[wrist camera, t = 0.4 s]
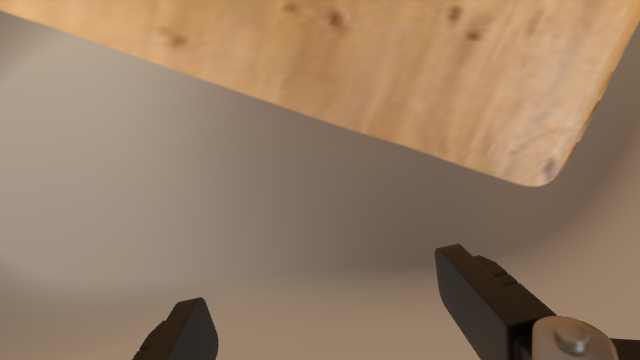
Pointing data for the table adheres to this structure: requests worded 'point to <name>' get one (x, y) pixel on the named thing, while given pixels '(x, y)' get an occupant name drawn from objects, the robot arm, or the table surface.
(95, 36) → the table surface
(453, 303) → the robot arm
